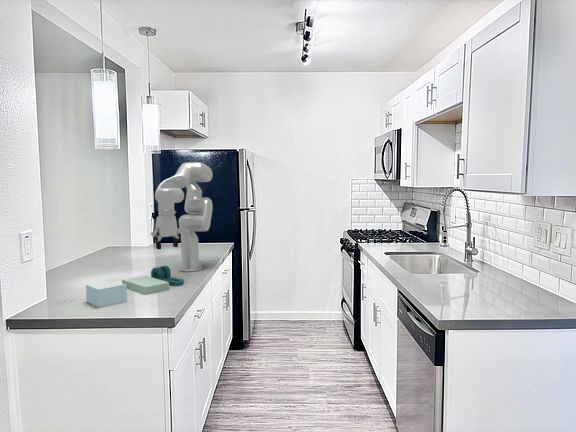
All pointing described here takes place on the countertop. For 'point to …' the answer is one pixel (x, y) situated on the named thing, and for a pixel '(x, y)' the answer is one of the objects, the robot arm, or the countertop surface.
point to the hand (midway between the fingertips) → (167, 248)
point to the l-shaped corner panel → (106, 295)
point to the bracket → (166, 276)
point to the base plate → (146, 284)
